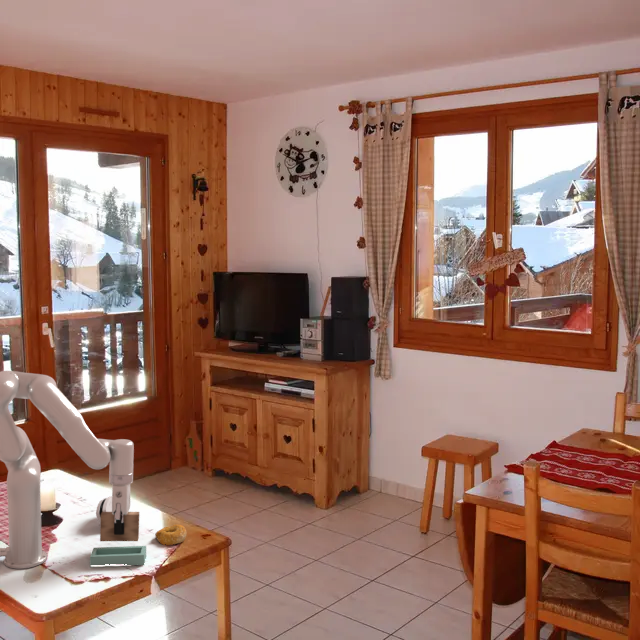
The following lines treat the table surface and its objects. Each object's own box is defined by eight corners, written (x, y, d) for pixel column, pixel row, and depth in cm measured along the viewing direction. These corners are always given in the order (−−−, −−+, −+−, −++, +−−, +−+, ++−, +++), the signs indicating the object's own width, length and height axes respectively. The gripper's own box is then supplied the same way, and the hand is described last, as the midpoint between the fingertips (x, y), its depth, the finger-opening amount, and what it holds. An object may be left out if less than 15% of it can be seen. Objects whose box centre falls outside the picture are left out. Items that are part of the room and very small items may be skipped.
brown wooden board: (100, 541, 243) (100, 514, 242) (101, 538, 245) (101, 511, 244) (137, 541, 244) (138, 514, 243) (138, 538, 247) (139, 511, 246)
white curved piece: (116, 532, 260) (106, 506, 258) (103, 536, 259) (93, 510, 258) (125, 514, 276) (116, 489, 275) (113, 518, 276) (104, 493, 275)
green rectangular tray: (90, 567, 232) (90, 556, 231) (93, 558, 238) (93, 547, 238) (144, 565, 234) (144, 554, 233) (146, 556, 241) (146, 545, 240)
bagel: (167, 531, 261) (167, 518, 260) (192, 538, 256) (192, 525, 255) (148, 542, 252) (148, 528, 252) (174, 549, 247) (174, 535, 247)
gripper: (130, 485, 235) (128, 542, 237) (135, 470, 251) (134, 523, 253) (105, 485, 234) (104, 542, 236) (112, 470, 250) (111, 523, 252)
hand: (119, 531), depth 244 cm, fingers closed on brown wooden board, 2 cm apart
